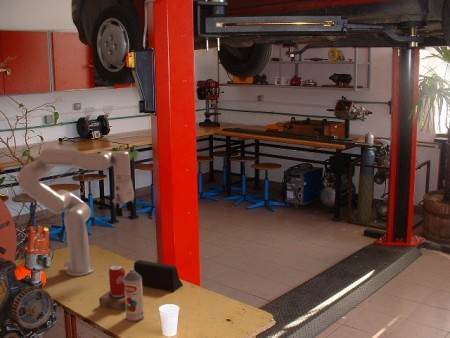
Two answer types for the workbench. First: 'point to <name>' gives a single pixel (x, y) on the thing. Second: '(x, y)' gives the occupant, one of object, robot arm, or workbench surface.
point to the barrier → (158, 275)
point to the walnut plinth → (112, 302)
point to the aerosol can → (133, 296)
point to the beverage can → (117, 280)
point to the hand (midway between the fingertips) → (125, 213)
